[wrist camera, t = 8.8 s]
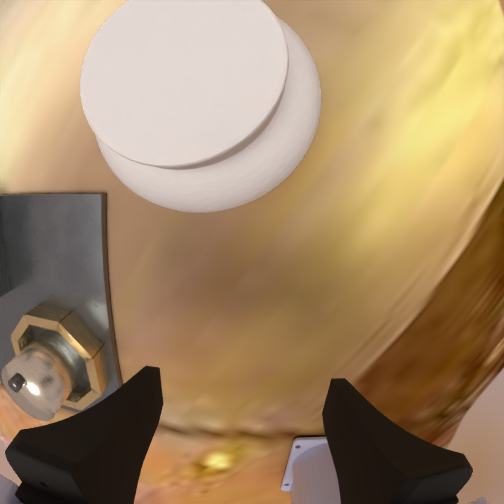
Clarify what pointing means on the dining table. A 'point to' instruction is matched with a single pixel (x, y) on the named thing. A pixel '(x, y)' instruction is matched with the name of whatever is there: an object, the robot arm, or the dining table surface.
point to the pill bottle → (200, 100)
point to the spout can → (43, 375)
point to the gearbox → (59, 284)
